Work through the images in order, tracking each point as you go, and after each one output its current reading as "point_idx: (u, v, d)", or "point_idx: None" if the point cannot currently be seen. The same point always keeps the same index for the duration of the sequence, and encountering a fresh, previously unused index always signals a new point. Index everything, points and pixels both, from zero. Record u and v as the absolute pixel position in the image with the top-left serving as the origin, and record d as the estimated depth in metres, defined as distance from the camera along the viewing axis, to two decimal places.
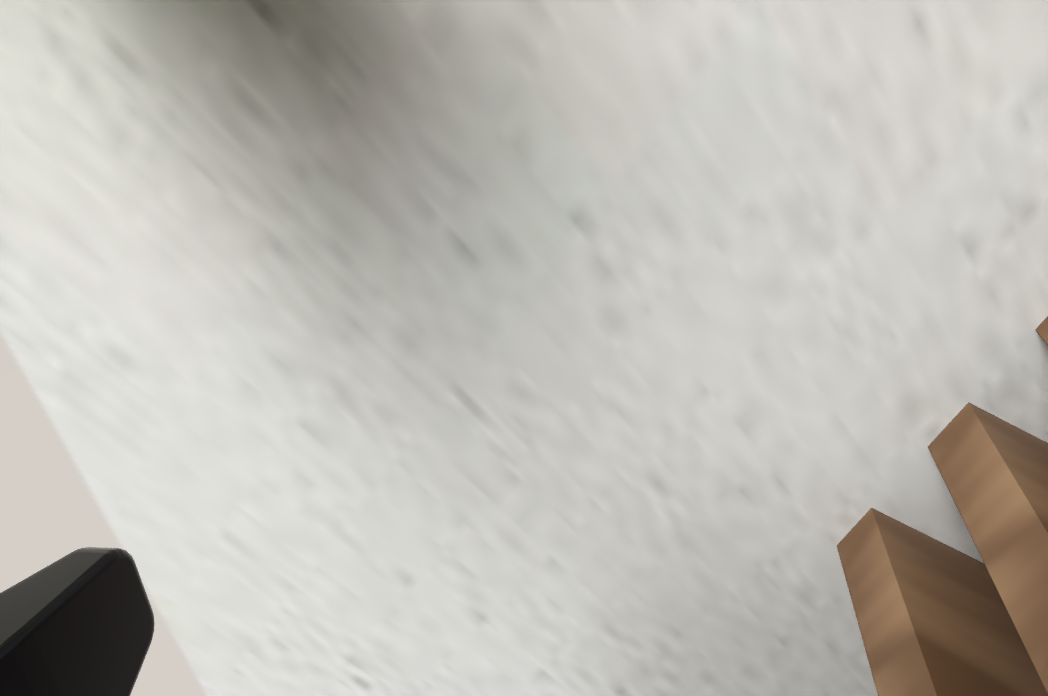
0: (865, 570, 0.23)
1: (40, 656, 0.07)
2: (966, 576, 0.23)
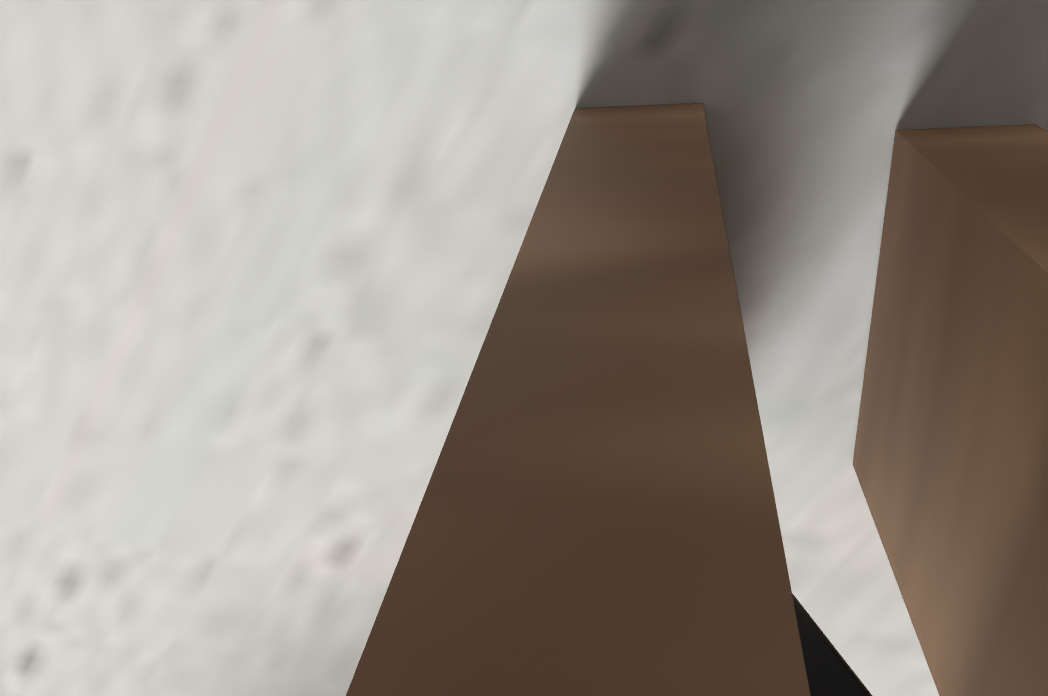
0: None
1: None
2: None
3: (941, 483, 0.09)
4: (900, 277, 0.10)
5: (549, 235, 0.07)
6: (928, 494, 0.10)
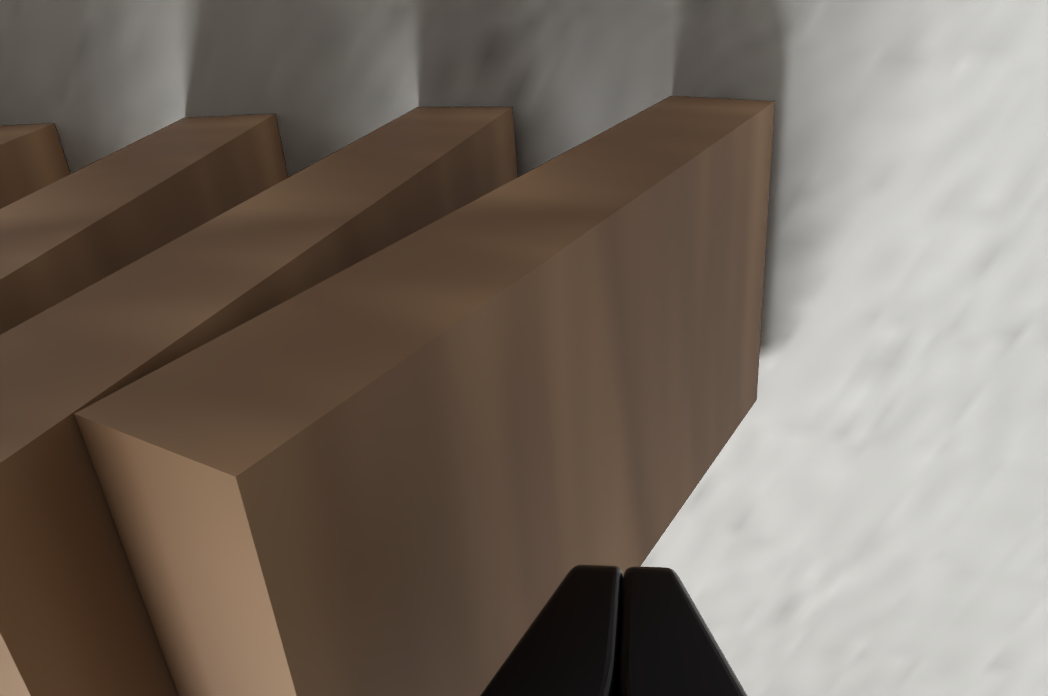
0: None
1: (617, 688, 0.06)
2: None
3: None
4: None
5: None
6: None
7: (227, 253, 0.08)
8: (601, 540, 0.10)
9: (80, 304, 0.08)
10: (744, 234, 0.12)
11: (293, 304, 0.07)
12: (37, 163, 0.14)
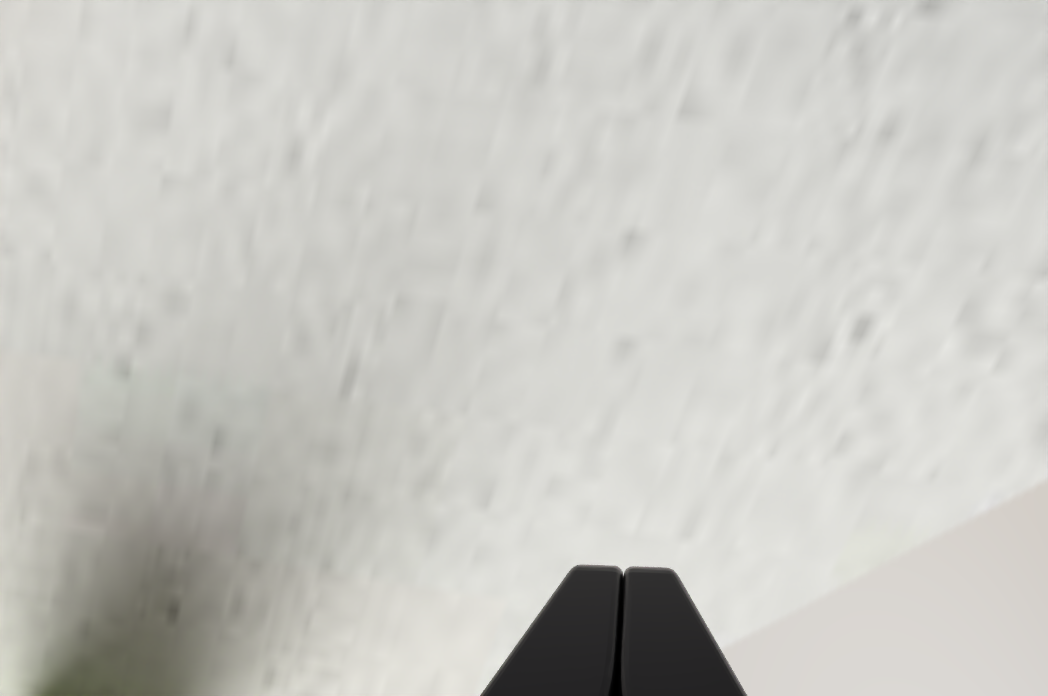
0: None
1: (617, 688, 0.06)
2: None
3: None
4: None
5: None
6: None
7: None
8: None
9: None
10: None
11: None
12: None
